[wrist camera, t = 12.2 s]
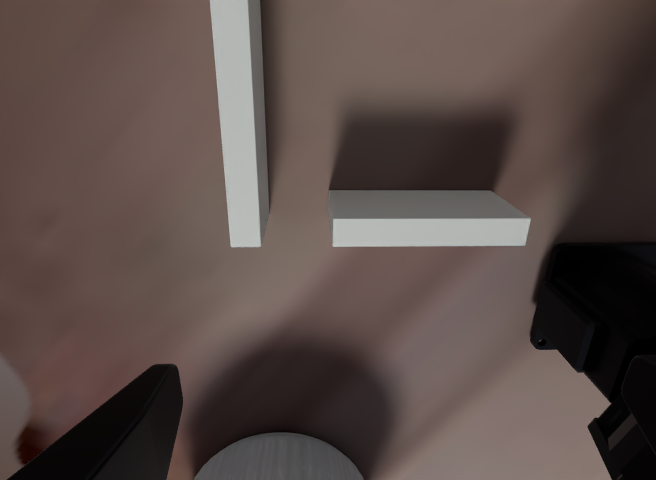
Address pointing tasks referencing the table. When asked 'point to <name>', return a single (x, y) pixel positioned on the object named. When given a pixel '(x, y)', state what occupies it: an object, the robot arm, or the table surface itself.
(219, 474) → the ramekin
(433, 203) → the shelf slot
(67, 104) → the table surface
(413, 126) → the table surface
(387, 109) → the table surface
